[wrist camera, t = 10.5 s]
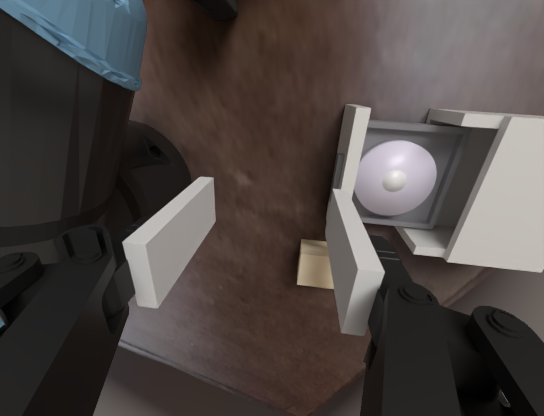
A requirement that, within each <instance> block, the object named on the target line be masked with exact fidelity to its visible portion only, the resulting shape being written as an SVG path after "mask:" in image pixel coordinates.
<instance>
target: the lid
mask: <svg viewBox="0 0 544 416" xmlns="http://www.w3.org/2000/svg"><path fill="white" fill-rule="evenodd" d="M436 176H437V170H436V165H435V162H434V160H433V158H432V156H431V155H430V153H429V152H428V151H426V150H425V149H424V148H422V147H421V146H419V145H417V144H414V143H412V142H410V141H407V140H401V139H392V140H386V141H383V142H380V143H378V144H376V145H374V146H372V147H371V148H369V149H368V150H367V151H365V152H364V153H363V155H362V156H361V158H360V163H359V167H358V172H357V177H356V181H355V186H354V192H355V194H356V196H357V198H358V200H359V201H360V203H361V204H362V205H363V206H364V207H365V208H366V209H368V210H370V211H371V212H374V213H376V214H380V215H388V216H390V215H399V214H402V213H406V212H408V211H410V210H412V209H414V208H416V207H417V206H419V205H420V204H421V203H422V202H423V201H424V200H425V199H426V198H427V197H428V196H429V194H430V193H431V191H432V189H433V187H434V185H435V181H436Z"/></svg>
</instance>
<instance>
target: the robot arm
mask: <svg viewBox="0 0 544 416" xmlns="http://www.w3.org/2000/svg"><path fill="white" fill-rule="evenodd" d="M146 30H147V16H146V11H145V7H144V4H143V1H142V0H0V416H93V413H94V410H95V408H96V404H97V402H98V399H99V396H100V393H101V391H102V388H103V385H104V382H105V379H106V377H107V374H108V371H109V368H110V365H111V363H112V360H113V357H114V354H115V351H116V348H117V346H118V343H119V340H120V337H121V334H122V332H123V329H124V326H125V323H126V320H127V317H128V315H129V306H128V301H129V300H130V299H131V298H132V297H133V295H134V294H135V297H136V301H137V305H138V306H142V307H149V308H157V309H158V308H159V306H160V305H161V303H162V302H163V300H164V299H165V297H166V296H167V294H168V293H169V291H170V290H171V288H172V287H173V285H174V284H175V282H176V281H177V279H178V278H179V276H180V275H181V273H182V271H183V270H184V268H185V267H186V265H187V264H188V262H189V261H190V259H191V258H192V256H193V255H194V253H195V252H196V250H197V249H198V247H199V246H200V244H201V243H202V241H203V240H204V238H205V237H206V235H207V234H208V232H209V231H210V229H211V228H212V226H213V225H214V223H215V222H216V220H215V199H214V178H210V177H199V178H198V179H197V180H195V181H194V182H193V183H192V184H191V178H190V174H189V171H188V168H187V166H186V163H185V161H184V160H183V158H182V156H181V155H180V153H179V152H178V150H177V149H176V148H175V147H174V146H173V144H172V143H171V142H170V141H169V140H168V139H166V138H165V137H164V136H163V135H162V134H160V133H159V132H157V131H156V130H154V129H152V128H151V127H149V126H146V125H144V124H141V123H139V122H135V121H130V120H129V117H130V112H131V108H132V103H133V98H134V94H135V91H138V90H140V88H141V84H142V81H141V78H140V76H139V74H140V68H141V62H142V55H143V49H144V43H145V37H146ZM325 236H326V242H327V248H328V254H329V261H330V267H331V273H332V279H333V285H334V291H335V297H336V303H337V309H338V316H339V322H340V328H341V333H344V334H352V335H359V336H364V335H365V332H366V329H367V326H369V329H370V333H371V336H372V338H371V340H370V343H369V346H368V349H367V352H366V355H365V358H364V361H363V362H365V363H366V371H365V379H364V387H363V395H362V404H361V412H360V416H544V343H543V341H542V340H541V339H540V338H539V337H538V336H537V334H536V333H535V332H534V331H533V330H532V329H531V328H530V327H528V325H526V324H525V323H524V322H522V321H521V320H520V319H518V318H516V317H515V316H514V315H512V314H510V313H508V312H506V311H503V310H501V309H498V308H494V307H491V306H478V307H476V308H474V310H473V312H472V314H471V315H470V316H469V315H466V314H463V313H460V312H457V311H454V310H451V309H448V308H446V307H443V306H441V305H439V302H438V300H437V298H436V297H435V296H434V295H433V294H432V293H431V292H430V291H429V290H427V289H426V288H424V287H423V286H421V285H419V284H416V283H414V282H413V281H412V279H411V277H410V276H409V274H408V272H407V271H406V269H405V267H404V265H403V264H402V262H401V260H399V257H398V255H397V253H396V252H395V250H394V248H393V247H392V245H391V244H390V243H389V242H388V241H387V240H386V239H384V238H383V237H382V236H372V235H368V234H367V232H366V230H365V228H364V225H363V223H362V221H361V219H360V217H359V215H358V212H357V210H356V208H355V206H354V204H353V201H352V199H351V197H350V195H349V193H348V191H347V190H341V189H333V190H332V196H331V201H330V207H329V213H328V219H327V224H326V230H325ZM502 392H503V394H504V395H505V397H506V399H507V400H508V402H509V403H508V402H507V401H506V399H505V397H504V396H503V394H502ZM509 404H510V405H509Z"/></svg>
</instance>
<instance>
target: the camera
mask: <svg viewBox="0 0 544 416" xmlns="http://www.w3.org/2000/svg"><path fill="white" fill-rule="evenodd" d="M191 1H192V2H194V3H195V4H196V5H197V6H199V7H200V8H201V9H202V10H203V11H204V12H206V13H207V14H208V15H209V16H210V17H211V18H213V19H215V20H220V21H223V20H228V19H232V18H235V17H236V16H237V14H238V10H237V4H236V0H191Z"/></svg>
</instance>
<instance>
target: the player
mask: <svg viewBox="0 0 544 416" xmlns="http://www.w3.org/2000/svg"><path fill="white" fill-rule="evenodd" d="M425 124H439V125H453V126H464V127H469V128H473V129H472V131H471V134H470V136H469V139H468V142H467V144H466V147H465V149H464V152H463V154H462V157H461V159H460V162H459V164H458V167H457V170H456V172H455V175H454V177H453V180H452V182H451V185H450V187H449V190H448V193H447V195H446V198H445V200H444V203H443V205H442V208H441V210H440V213H439V215H438V218H437V221H436V223H435V226H434V228H433V230H431V229H422V228H412V227H402V226H394V227H395V228H396V230H397V231H398V232H399V234H400V235H401V237H402V238H403V240H404V241H405V243H406V244H407V246H408V247H409V249H410V250H411V252H412V253H413V254H417V255H426V256H435V257H443V258H444V259H445V260H446V262H451V263H460V264H469V265H478V266H487V267H496V268H505V269H515V270H524V271H534V272H542V271H543V269H544V116H535V115H520V114H505V113H490V112H475V111H460V110H445V109H430V110H429V114H428V117H427V120H426V123H425Z"/></svg>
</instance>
